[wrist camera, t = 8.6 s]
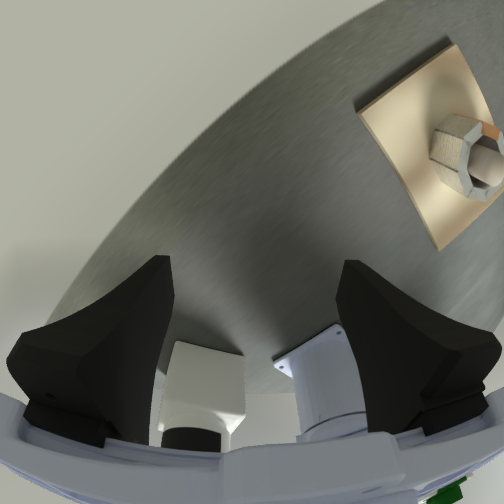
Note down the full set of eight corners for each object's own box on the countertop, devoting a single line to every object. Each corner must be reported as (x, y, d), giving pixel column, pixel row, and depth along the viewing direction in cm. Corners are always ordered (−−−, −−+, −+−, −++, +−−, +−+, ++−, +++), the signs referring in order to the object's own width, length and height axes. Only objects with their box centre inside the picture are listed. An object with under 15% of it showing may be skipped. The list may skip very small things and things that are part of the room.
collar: (472, 188, 19) (497, 204, 16) (424, 179, 18) (451, 195, 15) (483, 125, 16) (512, 135, 13) (435, 107, 16) (465, 113, 13)
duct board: (506, 179, 19) (544, 201, 14) (434, 247, 22) (467, 282, 18) (450, 44, 14) (497, 42, 9) (356, 113, 17) (394, 121, 12)
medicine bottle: (165, 377, 30) (149, 472, 19) (175, 338, 27) (154, 452, 16) (225, 390, 31) (224, 484, 21) (245, 355, 28) (249, 466, 18)
